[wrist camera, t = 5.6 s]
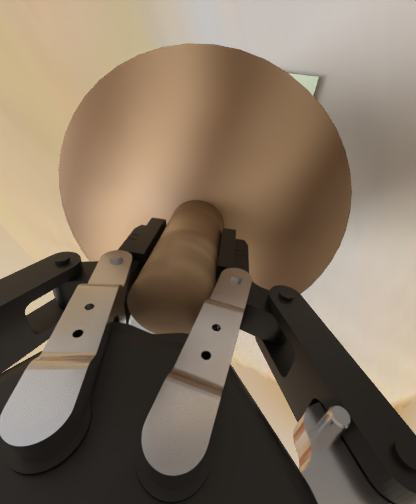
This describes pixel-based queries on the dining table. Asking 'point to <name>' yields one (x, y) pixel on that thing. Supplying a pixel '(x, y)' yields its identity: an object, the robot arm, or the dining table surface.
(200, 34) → the dining table surface
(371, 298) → the dining table surface
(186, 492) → the robot arm
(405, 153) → the dining table surface
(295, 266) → the lid
